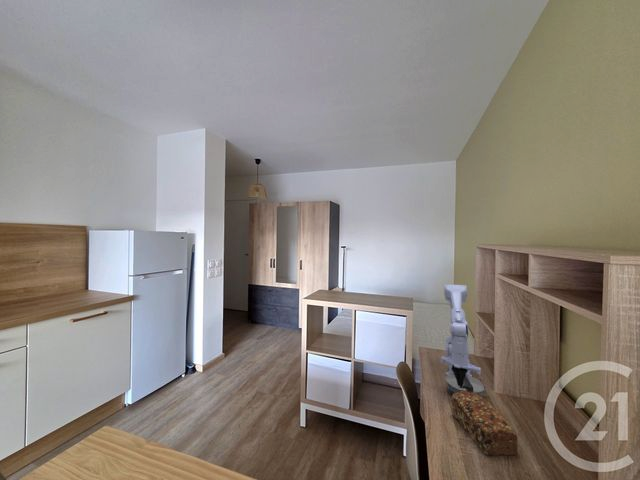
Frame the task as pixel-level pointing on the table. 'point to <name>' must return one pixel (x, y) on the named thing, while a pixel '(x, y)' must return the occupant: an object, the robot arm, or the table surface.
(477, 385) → the lid
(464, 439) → the table surface
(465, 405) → the bread
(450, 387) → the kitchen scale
